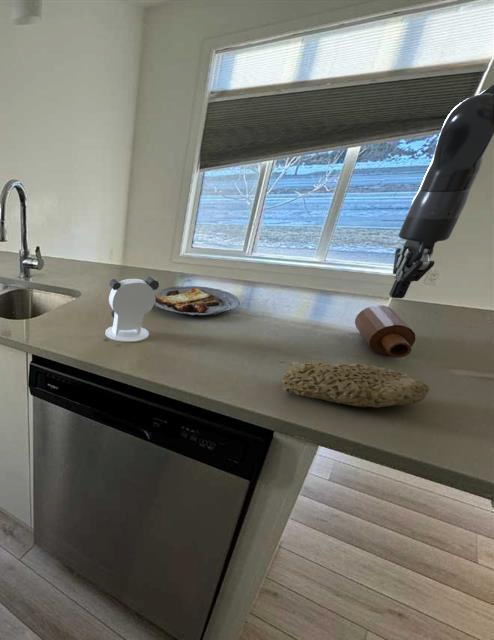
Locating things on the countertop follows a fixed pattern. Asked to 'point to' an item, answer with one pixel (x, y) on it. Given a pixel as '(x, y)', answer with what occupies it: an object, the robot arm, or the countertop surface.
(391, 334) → the bottle
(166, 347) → the countertop surface
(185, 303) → the food plate
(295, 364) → the sponge
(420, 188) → the robot arm
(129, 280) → the panda figurine
